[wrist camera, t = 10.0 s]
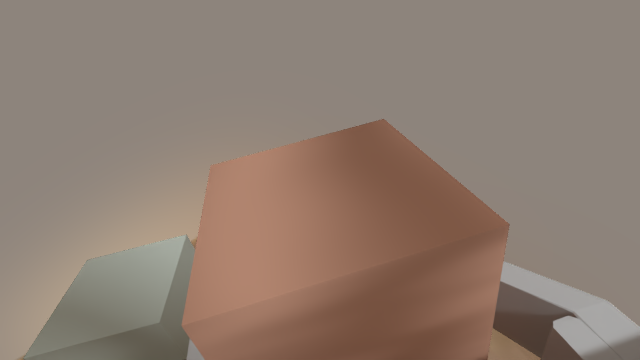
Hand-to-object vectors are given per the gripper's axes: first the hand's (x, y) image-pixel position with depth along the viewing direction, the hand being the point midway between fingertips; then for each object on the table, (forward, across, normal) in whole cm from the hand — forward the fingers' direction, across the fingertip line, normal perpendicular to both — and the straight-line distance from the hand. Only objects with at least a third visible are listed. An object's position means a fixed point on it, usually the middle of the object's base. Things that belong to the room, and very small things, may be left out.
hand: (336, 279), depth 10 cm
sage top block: (+14, +16, +14) cm, 25 cm away
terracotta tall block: (-1, 0, +6) cm, 6 cm away
